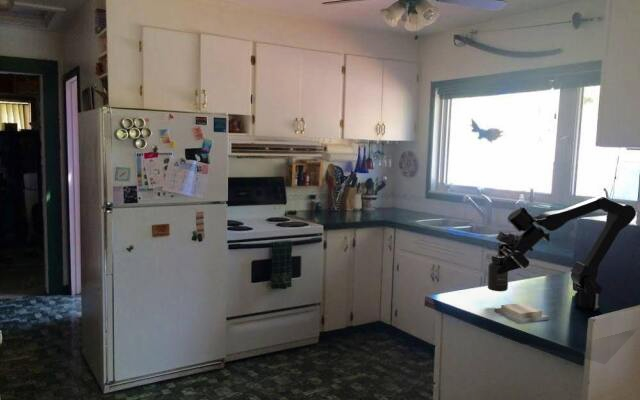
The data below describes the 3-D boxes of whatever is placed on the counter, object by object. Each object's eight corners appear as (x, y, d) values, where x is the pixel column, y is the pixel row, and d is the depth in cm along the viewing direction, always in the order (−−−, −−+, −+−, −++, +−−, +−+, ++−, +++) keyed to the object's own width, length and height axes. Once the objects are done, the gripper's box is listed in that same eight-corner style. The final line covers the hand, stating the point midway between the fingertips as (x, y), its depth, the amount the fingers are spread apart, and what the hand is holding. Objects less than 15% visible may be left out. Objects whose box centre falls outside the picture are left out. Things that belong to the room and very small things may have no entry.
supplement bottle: (509, 288, 184) (511, 255, 183) (505, 293, 178) (507, 258, 177) (489, 285, 187) (491, 253, 186) (485, 290, 181) (486, 256, 180)
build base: (522, 308, 180) (522, 301, 179) (548, 319, 169) (549, 311, 168) (494, 311, 176) (494, 304, 175) (519, 322, 164) (519, 315, 164)
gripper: (503, 220, 189) (471, 249, 191) (521, 228, 171) (486, 260, 172) (523, 241, 190) (492, 270, 191) (544, 252, 171) (509, 284, 173)
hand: (494, 270), depth 182 cm, fingers closed on supplement bottle, 7 cm apart
